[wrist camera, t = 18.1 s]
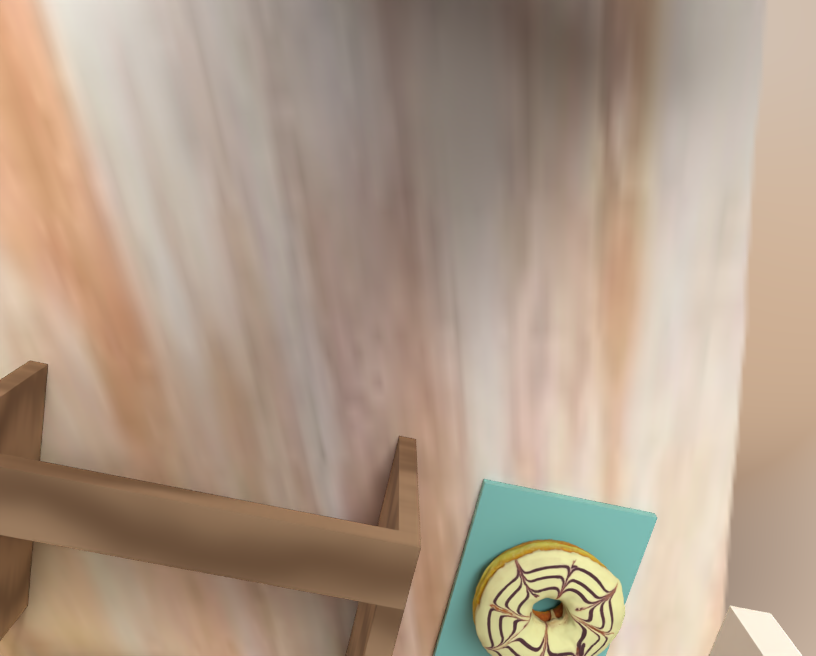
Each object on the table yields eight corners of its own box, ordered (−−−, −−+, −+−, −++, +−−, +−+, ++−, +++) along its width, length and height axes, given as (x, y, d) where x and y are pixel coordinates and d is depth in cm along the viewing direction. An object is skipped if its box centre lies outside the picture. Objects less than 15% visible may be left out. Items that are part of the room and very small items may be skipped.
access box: (29, 360, 47) (-105, 446, 35) (416, 439, 49) (420, 547, 37) (11, 602, 53) (-110, 751, 40) (359, 664, 55) (346, 825, 42)
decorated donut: (585, 660, 54) (598, 699, 50) (454, 630, 53) (458, 668, 49) (633, 548, 51) (650, 581, 47) (494, 515, 50) (501, 546, 46)
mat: (483, 478, 50) (484, 483, 49) (654, 513, 51) (657, 517, 50) (432, 656, 54) (432, 662, 54) (590, 685, 55) (592, 691, 55)
